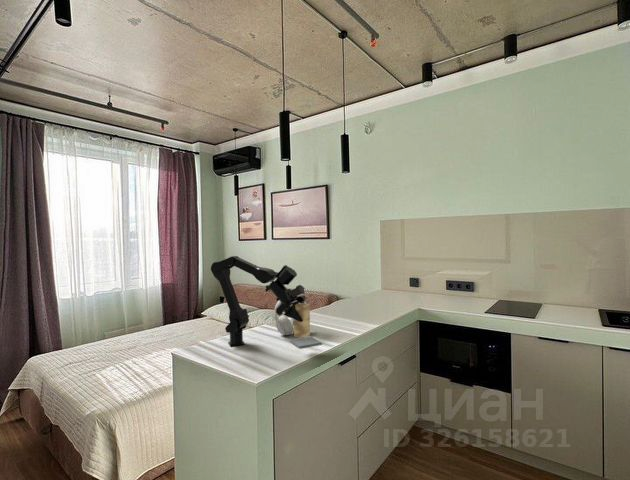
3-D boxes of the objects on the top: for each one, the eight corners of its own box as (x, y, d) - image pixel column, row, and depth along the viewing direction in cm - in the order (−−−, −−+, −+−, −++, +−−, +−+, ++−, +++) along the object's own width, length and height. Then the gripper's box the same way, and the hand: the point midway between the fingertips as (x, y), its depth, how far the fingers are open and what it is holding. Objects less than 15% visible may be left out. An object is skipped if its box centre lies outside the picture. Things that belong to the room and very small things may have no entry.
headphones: (280, 340, 153) (279, 297, 153) (270, 335, 161) (269, 295, 162) (312, 332, 164) (311, 293, 164) (301, 328, 172) (300, 290, 173)
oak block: (293, 336, 135) (293, 305, 135) (299, 333, 139) (299, 303, 140) (304, 337, 133) (304, 306, 133) (309, 334, 137) (309, 304, 138)
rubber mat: (289, 341, 151) (289, 339, 151) (310, 337, 155) (310, 336, 155) (298, 348, 141) (298, 346, 141) (321, 344, 146) (321, 342, 146)
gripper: (281, 282, 129) (307, 311, 125) (302, 277, 146) (325, 302, 142) (265, 300, 132) (289, 330, 128) (287, 293, 150) (309, 319, 145)
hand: (304, 319), depth 136 cm, fingers closed on oak block, 5 cm apart
